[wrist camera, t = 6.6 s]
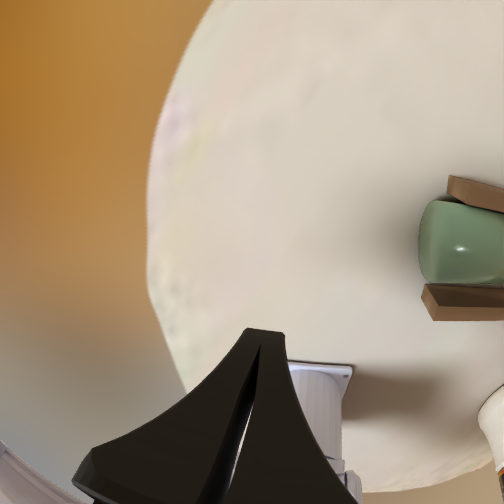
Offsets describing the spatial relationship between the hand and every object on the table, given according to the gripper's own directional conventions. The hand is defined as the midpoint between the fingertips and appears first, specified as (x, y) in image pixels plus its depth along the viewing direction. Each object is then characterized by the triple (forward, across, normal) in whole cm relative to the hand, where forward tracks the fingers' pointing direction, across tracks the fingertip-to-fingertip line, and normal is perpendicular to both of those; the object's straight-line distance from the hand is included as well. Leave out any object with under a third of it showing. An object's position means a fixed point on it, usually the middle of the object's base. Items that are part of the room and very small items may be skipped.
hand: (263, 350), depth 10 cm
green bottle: (+8, -9, -2) cm, 12 cm away
